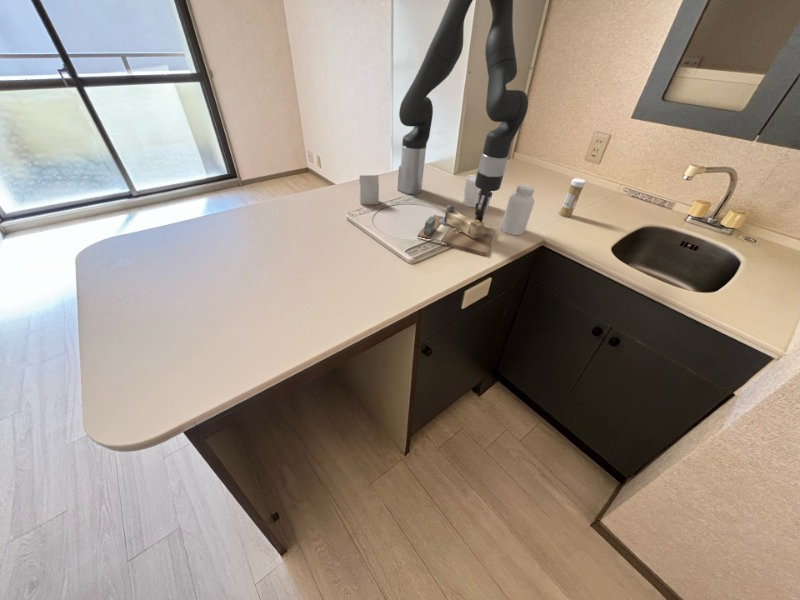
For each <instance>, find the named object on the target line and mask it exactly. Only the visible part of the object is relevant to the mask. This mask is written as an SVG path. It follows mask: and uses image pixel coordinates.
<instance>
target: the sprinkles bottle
mask: <svg viewBox="0 0 800 600" xmlns="http://www.w3.org/2000/svg"><path fill="white" fill-rule="evenodd" d="M585 185H586V180H585V179H582V178H578V177H577V178H576V177H575V178H573V179H572V180H571V182H570V185H569V188H568V192H566V196H565V198H564V201H563V203H562V206H561V208H560V211H559V212H558V213H559V215H560V216H562V217H566V218H567V217H568V218H569V217H571V216H572V215H573V212H574V209H576V208H575V207H576V205H577V203H578V201H579V198H580V195H581V192H582V190H583V188H585Z"/></svg>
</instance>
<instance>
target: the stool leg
mask: <svg viewBox="0 0 800 600" xmlns="http://www.w3.org/2000/svg"><path fill="white" fill-rule="evenodd" d="M444 217H445V219H444V221H445V222H446V223H447V224H449V225H451V226H453V227H455V228H456V229H458V230H460V231H462V232H463V233H465V234H467V235H469V236H470V237H472V238H474V239H476V238H479V237H481V235H482V231H483V227H485V222H483V221H482V222H481V221H479V220H475V219H474V220H472V219H471V218H468V217H467V216H465V215H463V214H461V213H459V212H458V211H456V210H455V206H454V205H452V204H447V205H446V209H445V215H444Z"/></svg>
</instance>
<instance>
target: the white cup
mask: <svg viewBox="0 0 800 600" xmlns="http://www.w3.org/2000/svg"><path fill="white" fill-rule="evenodd" d="M476 176H477V174H469V175H467V176H466V177H465V183H464V190H463V198H462V199H463V200H462V205H464V206H466V207H469V208H476V206H475V205H476V203H477V195H478V193H479V192H480V190H481V189H479V188H477V187H476V186H475V181H476Z"/></svg>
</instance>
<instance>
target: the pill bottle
mask: <svg viewBox="0 0 800 600" xmlns="http://www.w3.org/2000/svg"><path fill="white" fill-rule="evenodd" d="M534 192H535V188H534V187H532V186H530V185H526V184H518V185H517V186H516V190H515V192H514V193H512V194H511V195H510V196H509V199H508V201H507V206H506V208H505V213H504V216H503V219H502V223H501V226H500V229H501V231H503V232H504V233H506V234H508V235H511V236H512V235H513V236H521V235H523V234H524V233H525V231H526V228H527V225H528V223H529V220H530V217H531V213H532V211H533V207H534V205H535V199H534V197H533V195H534Z"/></svg>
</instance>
